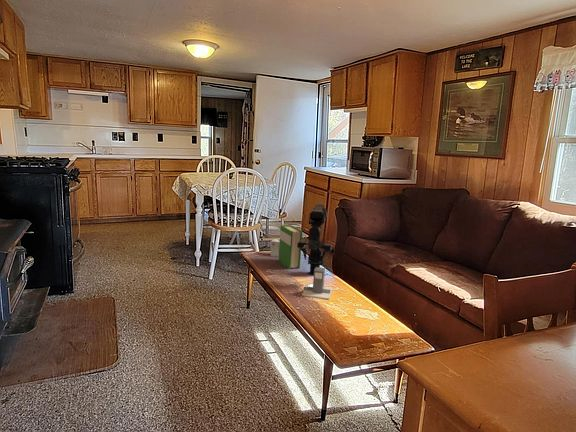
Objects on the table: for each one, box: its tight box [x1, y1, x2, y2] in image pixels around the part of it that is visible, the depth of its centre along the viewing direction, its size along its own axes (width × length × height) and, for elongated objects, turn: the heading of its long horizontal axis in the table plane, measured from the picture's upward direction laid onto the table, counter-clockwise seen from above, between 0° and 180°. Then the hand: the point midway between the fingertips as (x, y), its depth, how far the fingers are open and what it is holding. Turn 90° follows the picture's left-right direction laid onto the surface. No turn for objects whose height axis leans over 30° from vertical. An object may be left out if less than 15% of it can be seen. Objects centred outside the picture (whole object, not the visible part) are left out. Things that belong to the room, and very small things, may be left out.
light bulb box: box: [270, 238, 280, 258], centre depth 269 cm, size 11×7×11 cm, turn 84°
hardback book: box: [278, 224, 303, 270], centre depth 248 cm, size 18×7×24 cm, turn 23°
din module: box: [312, 267, 326, 294], centre depth 205 cm, size 6×5×12 cm
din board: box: [301, 284, 334, 300], centre depth 207 cm, size 16×14×1 cm
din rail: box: [305, 286, 331, 293], centre depth 206 cm, size 2×13×1 cm, turn 77°
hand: (313, 260), depth 218 cm, fingers open, 9 cm apart
